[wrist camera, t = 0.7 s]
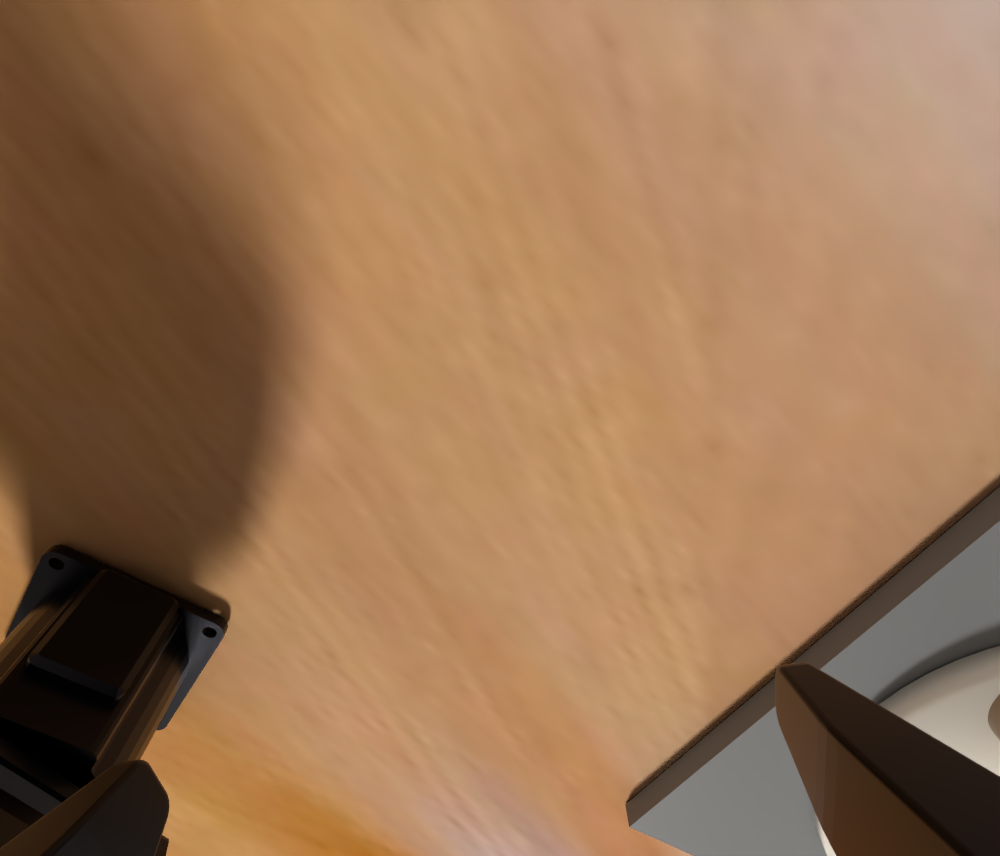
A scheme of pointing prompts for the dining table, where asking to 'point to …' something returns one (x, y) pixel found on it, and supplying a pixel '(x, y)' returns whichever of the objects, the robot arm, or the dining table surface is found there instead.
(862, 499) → the dining table surface
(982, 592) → the dial plate
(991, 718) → the dial
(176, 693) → the robot arm
